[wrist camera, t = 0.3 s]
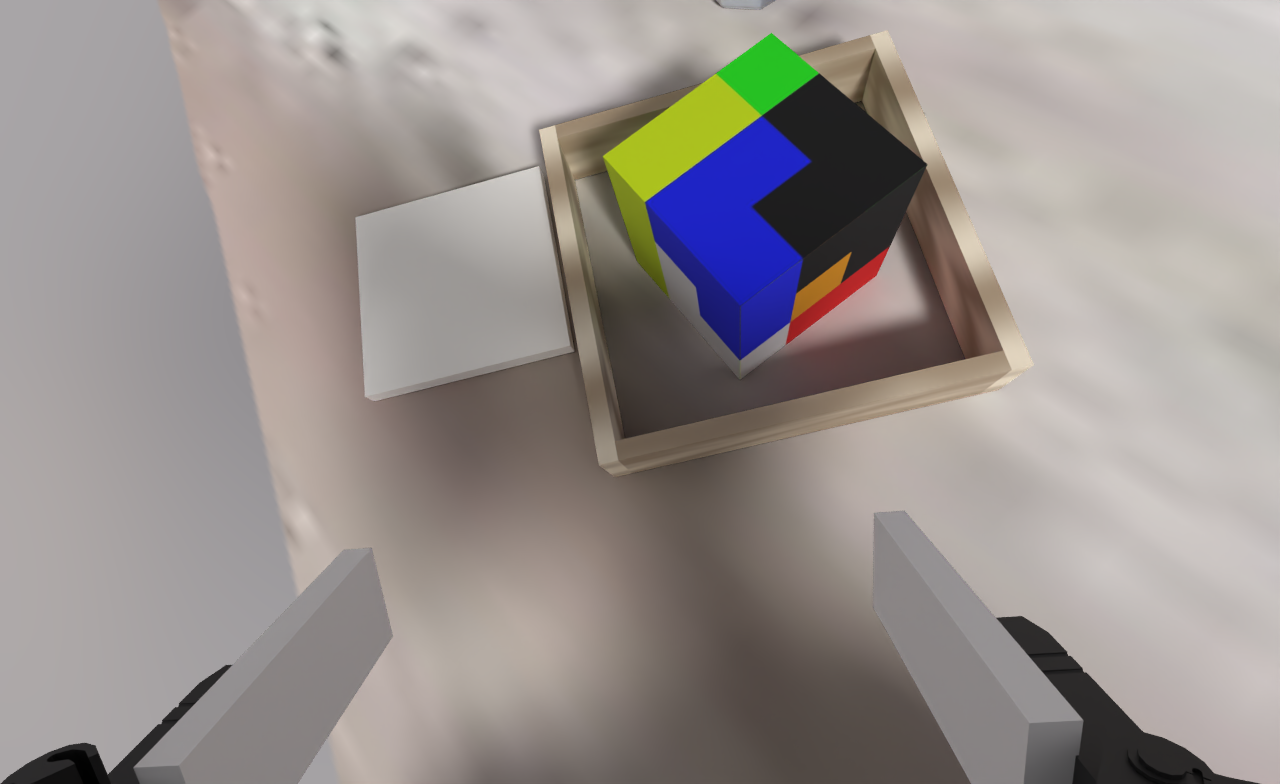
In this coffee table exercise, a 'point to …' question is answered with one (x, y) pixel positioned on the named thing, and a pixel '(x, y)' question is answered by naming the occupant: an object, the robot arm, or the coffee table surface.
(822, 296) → the puzzle toy
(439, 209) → the pad
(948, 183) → the bin
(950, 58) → the coffee table surface
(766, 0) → the ceramic cup
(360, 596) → the robot arm
